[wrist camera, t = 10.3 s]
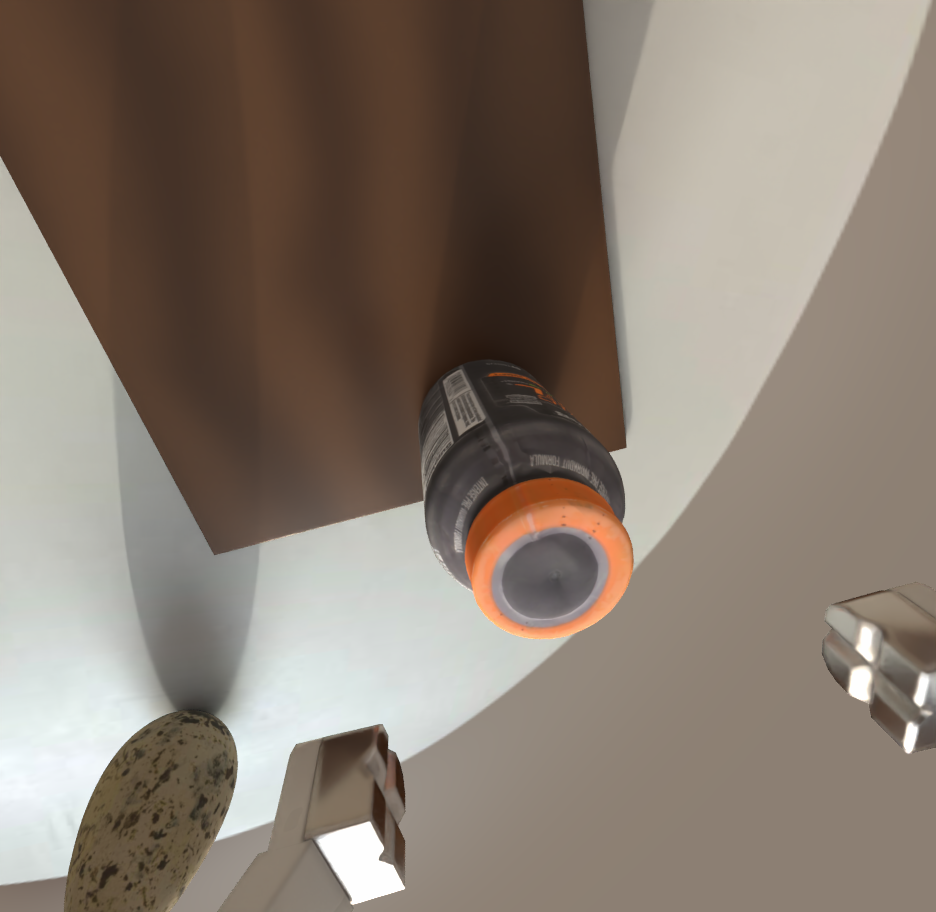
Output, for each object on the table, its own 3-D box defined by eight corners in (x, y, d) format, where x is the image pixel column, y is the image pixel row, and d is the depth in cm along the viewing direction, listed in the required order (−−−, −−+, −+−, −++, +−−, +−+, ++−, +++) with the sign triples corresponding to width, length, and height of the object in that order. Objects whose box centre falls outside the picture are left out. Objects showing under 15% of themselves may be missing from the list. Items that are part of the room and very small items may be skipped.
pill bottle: (575, 416, 22) (725, 562, 12) (486, 505, 23) (552, 708, 13) (481, 326, 20) (563, 410, 10) (388, 429, 21) (376, 600, 11)
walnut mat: (551, -264, 14) (555, -278, 14) (623, 444, 24) (627, 447, 23) (-134, -110, 14) (-149, -120, 13) (217, 550, 23) (214, 555, 23)
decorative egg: (188, 664, 25) (69, 897, 16) (277, 719, 28) (215, 951, 19) (113, 724, 26) (-39, 977, 17) (204, 773, 29) (112, 1019, 20)
